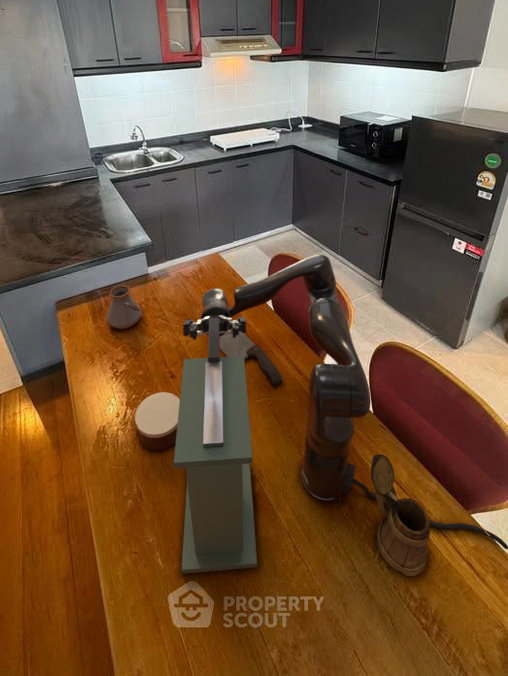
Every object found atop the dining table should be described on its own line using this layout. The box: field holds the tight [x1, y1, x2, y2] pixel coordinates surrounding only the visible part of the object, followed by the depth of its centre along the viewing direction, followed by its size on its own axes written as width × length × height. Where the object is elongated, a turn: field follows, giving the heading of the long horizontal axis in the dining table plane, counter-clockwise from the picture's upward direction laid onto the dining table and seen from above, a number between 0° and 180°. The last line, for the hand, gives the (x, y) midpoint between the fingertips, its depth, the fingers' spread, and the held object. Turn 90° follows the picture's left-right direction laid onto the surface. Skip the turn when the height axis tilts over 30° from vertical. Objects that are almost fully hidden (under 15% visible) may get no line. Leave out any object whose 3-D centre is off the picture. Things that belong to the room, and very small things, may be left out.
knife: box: [203, 318, 224, 448], centre depth 71 cm, size 27×3×2 cm, turn 4°
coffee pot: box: [106, 284, 144, 330], centre depth 124 cm, size 21×12×15 cm, turn 39°
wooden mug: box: [370, 453, 431, 577], centre depth 72 cm, size 9×14×18 cm, turn 41°
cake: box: [134, 391, 180, 451], centre depth 94 cm, size 11×11×6 cm
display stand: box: [173, 356, 258, 575], centre depth 73 cm, size 21×14×32 cm, turn 4°
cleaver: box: [220, 331, 283, 387], centre depth 117 cm, size 29×10×2 cm, turn 37°
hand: (214, 333), depth 81 cm, fingers open, 8 cm apart
